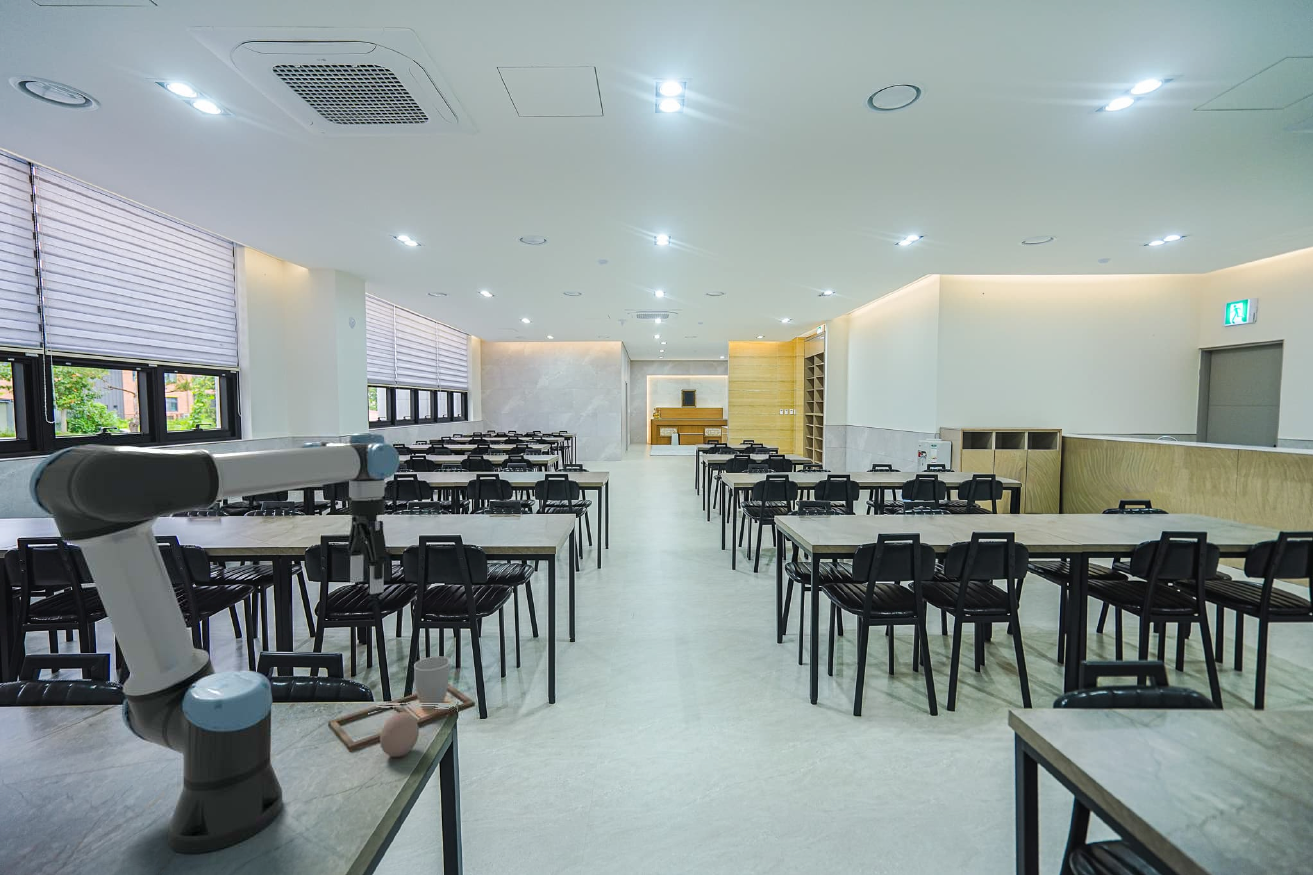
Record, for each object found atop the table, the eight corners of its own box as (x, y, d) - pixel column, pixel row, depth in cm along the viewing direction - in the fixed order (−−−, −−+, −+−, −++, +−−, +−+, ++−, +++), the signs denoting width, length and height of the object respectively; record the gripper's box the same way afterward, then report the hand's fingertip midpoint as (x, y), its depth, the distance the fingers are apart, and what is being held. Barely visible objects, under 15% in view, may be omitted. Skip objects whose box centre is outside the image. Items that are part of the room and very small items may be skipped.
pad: (458, 706, 134) (458, 704, 134) (421, 719, 128) (421, 717, 128) (442, 693, 141) (442, 692, 141) (405, 705, 134) (405, 704, 134)
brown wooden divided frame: (474, 706, 134) (474, 701, 134) (349, 751, 115) (349, 746, 115) (447, 686, 145) (447, 683, 145) (328, 725, 125) (328, 721, 125)
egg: (417, 760, 112) (417, 719, 112) (377, 767, 109) (378, 725, 109) (419, 742, 118) (419, 703, 118) (382, 748, 116) (382, 708, 116)
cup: (457, 702, 136) (457, 661, 136) (427, 716, 129) (427, 672, 129) (436, 693, 140) (436, 653, 140) (406, 706, 133) (406, 664, 133)
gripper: (404, 501, 127) (403, 594, 127) (365, 493, 145) (365, 575, 145) (368, 504, 122) (368, 601, 122) (333, 495, 139) (332, 580, 139)
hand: (366, 587), depth 133 cm, fingers open, 13 cm apart
